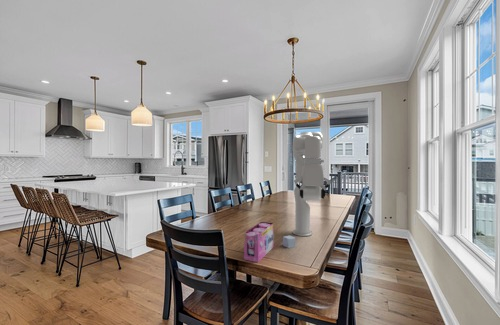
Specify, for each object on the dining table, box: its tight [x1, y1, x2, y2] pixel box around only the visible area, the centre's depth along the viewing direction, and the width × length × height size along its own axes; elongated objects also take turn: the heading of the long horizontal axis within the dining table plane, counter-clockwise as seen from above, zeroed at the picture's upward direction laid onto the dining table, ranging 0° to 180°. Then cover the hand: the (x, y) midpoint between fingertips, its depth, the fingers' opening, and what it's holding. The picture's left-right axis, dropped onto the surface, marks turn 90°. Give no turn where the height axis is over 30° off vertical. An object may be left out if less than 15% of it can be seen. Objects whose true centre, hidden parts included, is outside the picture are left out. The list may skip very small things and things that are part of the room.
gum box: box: [243, 221, 274, 263], centre depth 125 cm, size 24×8×14 cm, turn 156°
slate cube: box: [282, 235, 296, 249], centre depth 136 cm, size 5×5×5 cm
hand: (312, 198), depth 114 cm, fingers open, 9 cm apart
